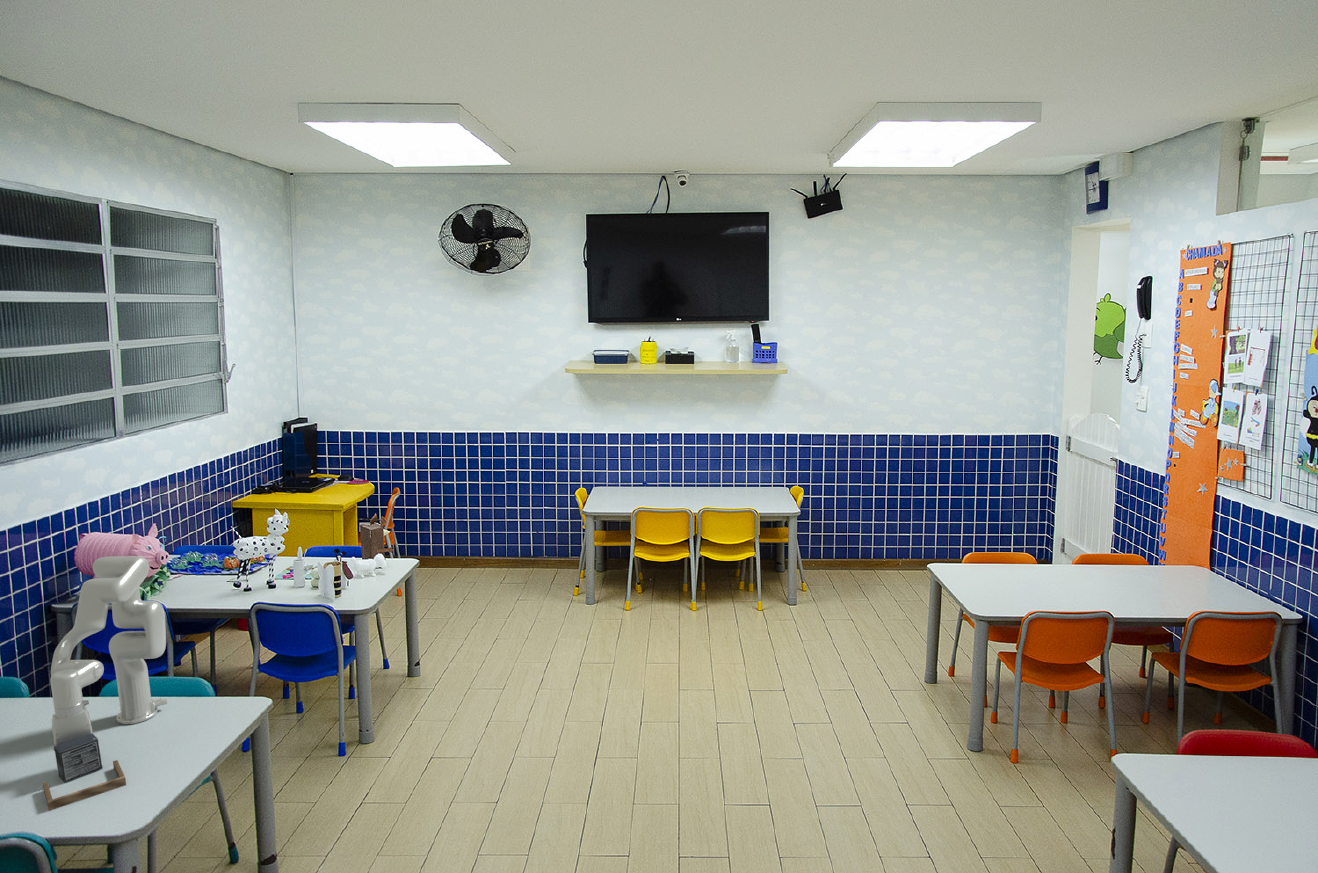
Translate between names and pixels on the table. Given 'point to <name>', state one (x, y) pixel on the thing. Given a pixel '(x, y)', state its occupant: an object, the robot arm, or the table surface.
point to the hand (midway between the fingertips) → (76, 762)
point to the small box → (78, 757)
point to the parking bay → (85, 790)
